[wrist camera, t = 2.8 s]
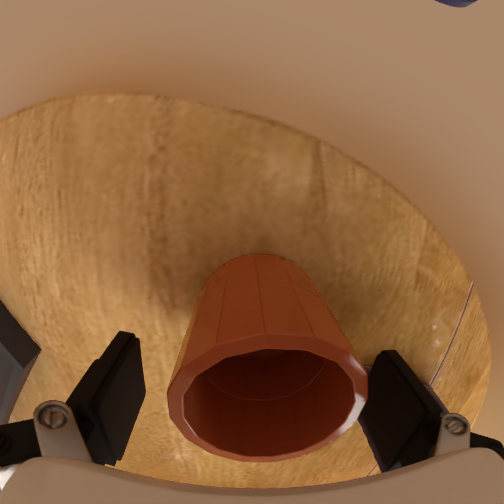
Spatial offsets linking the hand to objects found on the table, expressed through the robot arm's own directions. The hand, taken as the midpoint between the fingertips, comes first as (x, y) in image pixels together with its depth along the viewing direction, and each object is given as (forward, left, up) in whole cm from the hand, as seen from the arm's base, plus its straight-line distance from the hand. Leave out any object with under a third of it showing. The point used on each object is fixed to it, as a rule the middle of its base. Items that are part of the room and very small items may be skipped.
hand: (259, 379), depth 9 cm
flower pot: (0, 0, -5) cm, 5 cm away
